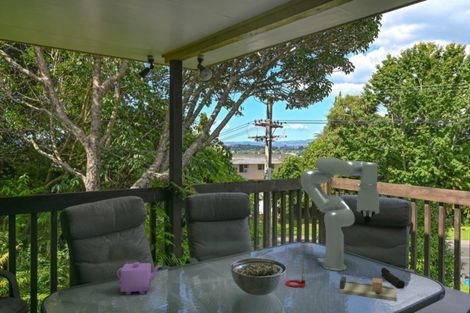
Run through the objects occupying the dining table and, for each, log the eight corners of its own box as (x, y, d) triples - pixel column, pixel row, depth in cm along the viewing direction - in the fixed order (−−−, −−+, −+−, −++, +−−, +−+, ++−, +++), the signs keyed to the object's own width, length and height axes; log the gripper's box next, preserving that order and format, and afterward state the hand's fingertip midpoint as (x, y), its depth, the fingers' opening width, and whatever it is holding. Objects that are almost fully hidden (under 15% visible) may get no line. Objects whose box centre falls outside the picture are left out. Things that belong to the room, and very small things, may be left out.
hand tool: (405, 289, 165) (405, 279, 165) (396, 289, 165) (396, 279, 165) (387, 275, 184) (387, 266, 184) (379, 275, 184) (379, 266, 184)
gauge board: (338, 292, 160) (338, 282, 160) (341, 283, 171) (341, 274, 171) (396, 301, 151) (396, 290, 151) (395, 291, 162) (395, 281, 162)
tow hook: (284, 287, 167) (304, 288, 165) (283, 259, 167) (303, 260, 165) (286, 281, 175) (305, 282, 173) (285, 255, 175) (304, 256, 173)
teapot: (114, 295, 155) (114, 267, 154) (119, 287, 165) (119, 260, 165) (161, 293, 157) (161, 265, 157) (163, 285, 167) (163, 258, 167)
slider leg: (372, 292, 156) (372, 283, 156) (372, 286, 163) (372, 277, 163) (382, 293, 155) (382, 284, 155) (382, 287, 162) (382, 278, 162)
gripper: (351, 186, 175) (350, 223, 176) (384, 189, 169) (383, 227, 169) (353, 185, 182) (352, 221, 183) (385, 187, 175) (384, 224, 176)
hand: (367, 224), depth 176 cm, fingers closed
